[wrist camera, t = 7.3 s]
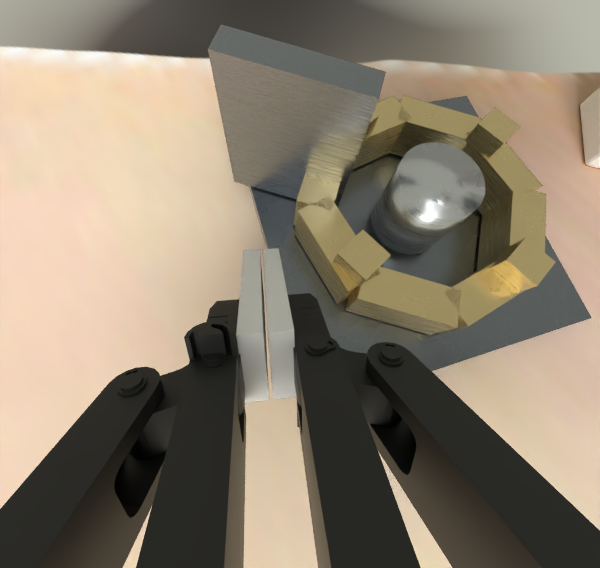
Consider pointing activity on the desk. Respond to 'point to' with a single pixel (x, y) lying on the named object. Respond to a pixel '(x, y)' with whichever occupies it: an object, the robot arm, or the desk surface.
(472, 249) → the housing plate
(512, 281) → the block with gold ring
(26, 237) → the desk surface
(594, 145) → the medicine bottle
